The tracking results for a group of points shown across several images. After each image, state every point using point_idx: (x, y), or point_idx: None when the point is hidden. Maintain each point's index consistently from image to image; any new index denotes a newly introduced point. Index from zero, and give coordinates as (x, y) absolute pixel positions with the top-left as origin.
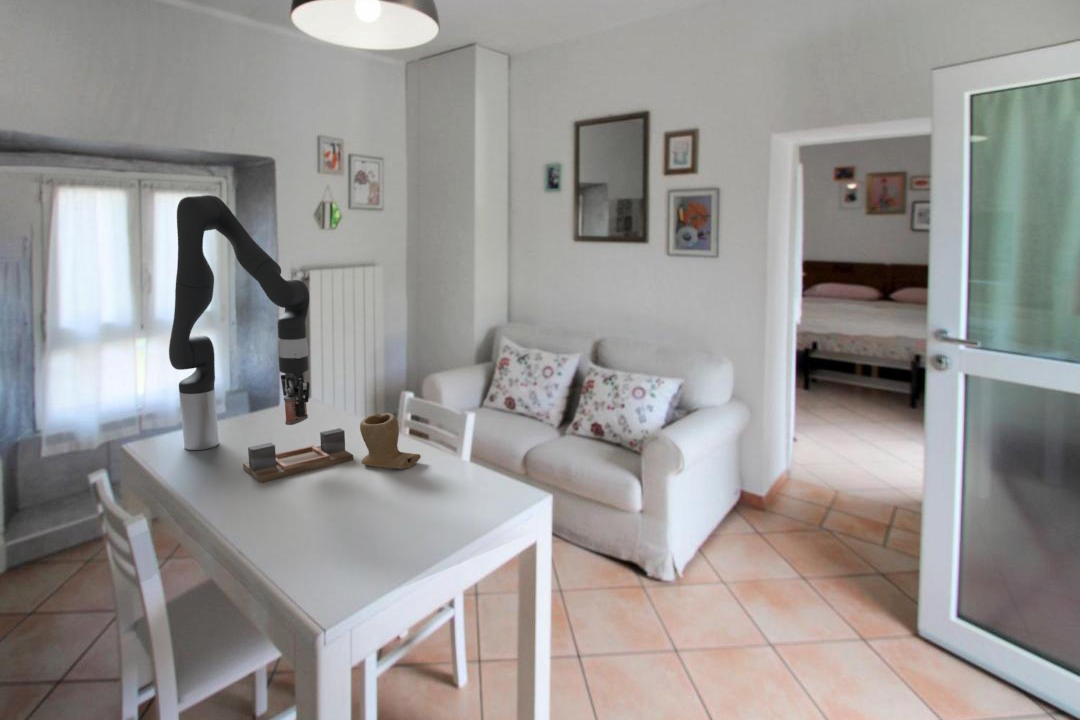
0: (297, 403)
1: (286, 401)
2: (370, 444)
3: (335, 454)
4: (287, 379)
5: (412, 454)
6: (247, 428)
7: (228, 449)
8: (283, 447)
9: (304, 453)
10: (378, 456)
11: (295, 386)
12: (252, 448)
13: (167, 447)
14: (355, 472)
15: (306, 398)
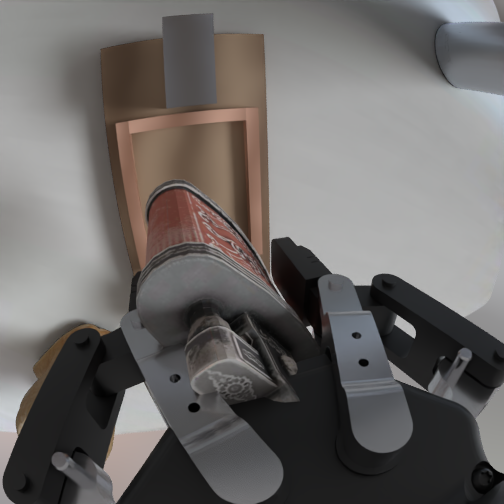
0: (125, 320)
1: (159, 256)
2: (44, 375)
3: None
4: (361, 453)
5: None
6: (481, 171)
7: (414, 77)
8: (352, 188)
9: (233, 216)
10: (53, 361)
11: (154, 454)
12: (182, 22)
13: (469, 14)
14: (60, 295)
15: (91, 397)
